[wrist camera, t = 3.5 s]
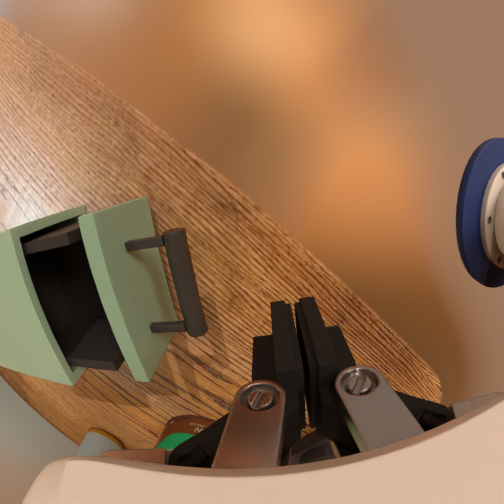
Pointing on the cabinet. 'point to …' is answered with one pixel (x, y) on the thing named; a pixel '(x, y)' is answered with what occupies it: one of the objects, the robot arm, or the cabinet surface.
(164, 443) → the food container
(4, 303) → the green drawer box
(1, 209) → the cabinet surface
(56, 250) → the green cabinet drawer
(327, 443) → the block
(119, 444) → the bottle
